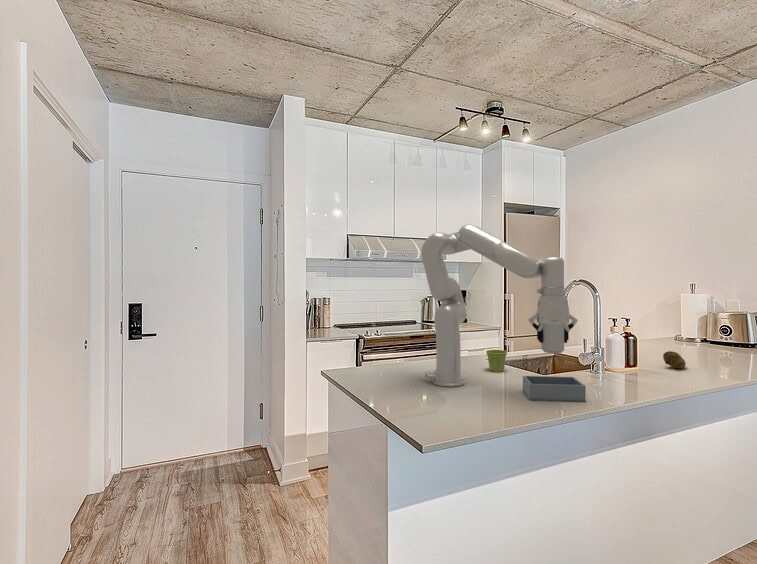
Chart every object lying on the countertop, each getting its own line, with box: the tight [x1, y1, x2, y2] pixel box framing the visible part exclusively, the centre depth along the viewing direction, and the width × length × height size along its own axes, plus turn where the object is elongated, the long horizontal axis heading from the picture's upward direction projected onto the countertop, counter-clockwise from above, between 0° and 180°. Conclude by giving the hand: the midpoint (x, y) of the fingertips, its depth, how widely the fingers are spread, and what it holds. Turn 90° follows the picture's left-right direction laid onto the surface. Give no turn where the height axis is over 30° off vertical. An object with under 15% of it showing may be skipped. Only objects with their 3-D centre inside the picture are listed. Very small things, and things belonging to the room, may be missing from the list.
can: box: [540, 320, 565, 354], centre depth 148 cm, size 8×8×12 cm
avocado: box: [662, 350, 687, 370], centre depth 188 cm, size 8×13×8 cm, turn 108°
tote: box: [522, 375, 587, 403], centre depth 148 cm, size 18×12×6 cm, turn 82°
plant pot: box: [485, 349, 508, 373], centre depth 187 cm, size 9×9×9 cm
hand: (552, 341), depth 148 cm, fingers closed on can, 7 cm apart
